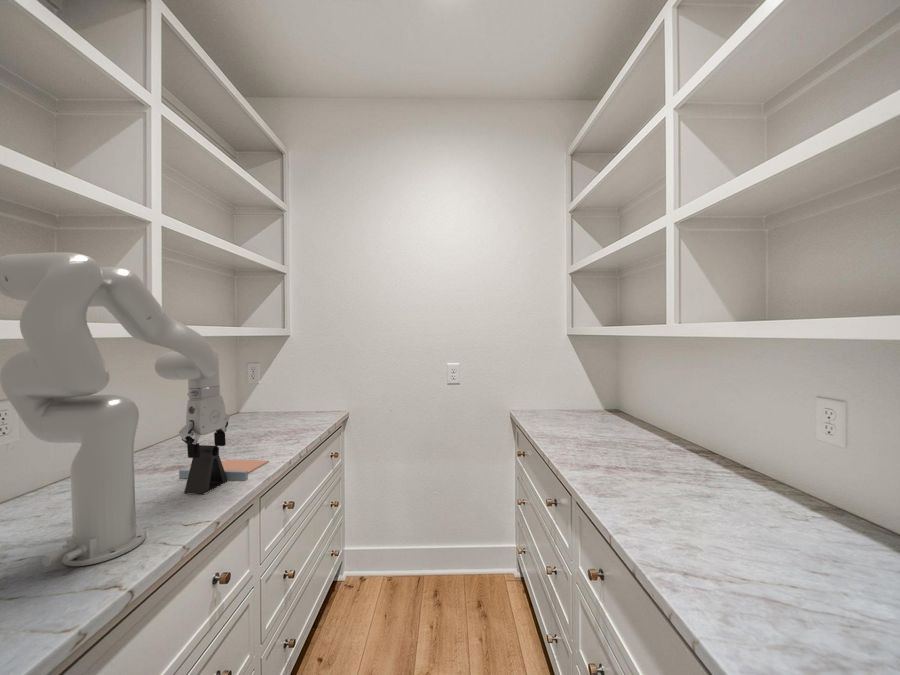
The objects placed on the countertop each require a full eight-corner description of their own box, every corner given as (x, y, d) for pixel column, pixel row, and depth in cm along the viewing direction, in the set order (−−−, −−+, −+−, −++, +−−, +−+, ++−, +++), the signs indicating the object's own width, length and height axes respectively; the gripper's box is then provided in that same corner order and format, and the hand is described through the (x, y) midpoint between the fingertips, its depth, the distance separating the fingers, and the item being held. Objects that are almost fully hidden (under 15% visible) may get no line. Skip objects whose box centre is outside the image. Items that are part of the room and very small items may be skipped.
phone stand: (203, 494, 102) (202, 451, 102) (184, 493, 103) (182, 450, 102) (227, 481, 111) (226, 441, 110) (210, 480, 112) (209, 441, 111)
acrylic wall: (245, 480, 111) (244, 472, 111) (179, 478, 114) (179, 470, 114) (247, 479, 112) (247, 471, 112) (182, 476, 115) (182, 468, 115)
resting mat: (243, 476, 114) (242, 475, 114) (196, 474, 116) (196, 473, 116) (268, 461, 127) (268, 460, 127) (226, 460, 129) (226, 459, 129)
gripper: (191, 399, 97) (195, 463, 98) (237, 387, 115) (240, 441, 115) (166, 398, 98) (169, 462, 99) (215, 387, 116) (218, 441, 116)
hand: (207, 451), depth 107 cm, fingers open, 9 cm apart
